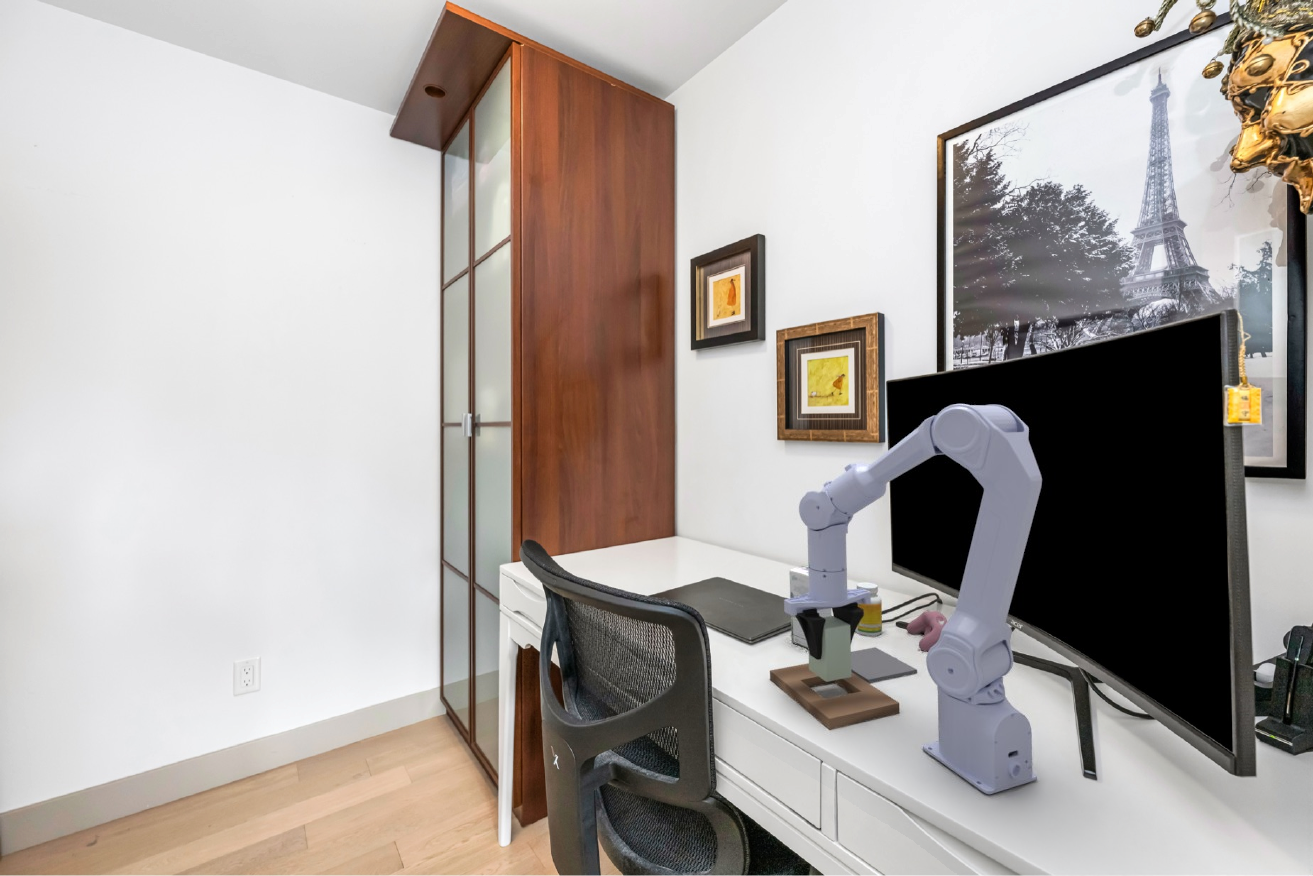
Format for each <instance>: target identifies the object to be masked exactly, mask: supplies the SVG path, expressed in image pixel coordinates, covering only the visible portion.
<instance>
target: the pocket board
mask: <svg viewBox="0 0 1313 876" xmlns="http://www.w3.org/2000/svg"><path fill="white" fill-rule="evenodd" d="M769 680H770V681H771V682H772V683H774V684H775V685H776V686H777V687H779V689H780V690H781V691H783V692H784V693H786V694H787V695H788V697H790V698H791V699H792V700H794V701H795V702H796V703H797V704H799V705H800V707H802V708H803V709H805V710H806V712H808V713H809V714H811V716H813V718H815V719H816V720H818V721H819V722H820V724H822V725H823V726H825V727H826V728H827V729H828V730H830V731H831V730H834V729H838V728H842V727H846V726H850V725H854V724H859V723H863V722H869V721H872V720H876V719H880V718H885V717H889V716H893V715H897V714H900V713H901V712H900V710H901V709H900V702H899V701H897V700H896V699H894V698H893V697H891V696H890V695H888V694H886V693H885V692H884V691H882V690H880V689H879V688H877V687H875V686H874V685H872V683H867V682H866V681H864V680H863V679H861V678H860V677H858V676H857V675H855V674H853V673H852V672H851V677H848V678H843V679H838V680H833V681H828V682H826V681H824V680H823V679H822V678H820V677H819V676H817V675H816V674H815V673H813V672H812V671H810V670H809V662H807V663H803V664H798V665H793V666H787V667H781V668H776V669H771V670H769ZM834 683H835V684H837V685H838V686H840V687H841V688H842V689H844V690H845V691H847V692H848V693H847V694H843V695H838V696H833V697H829V698H824V697H823V696H822V695H821V694H819V692H817V691H816V690H814V689H813V688H814V687H818V686H824V685H829V684H834Z"/></svg>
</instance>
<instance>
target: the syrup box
mask: <svg viewBox="0 0 1313 876" xmlns="http://www.w3.org/2000/svg"><path fill="white" fill-rule="evenodd" d="M788 571H789V597H790V598H794V597H797V596H800V595H803V594H806V593H809V571H808V564H807V565H800V566H797V567H795V568H791V569H789V570H788ZM790 598H789V599H790ZM817 613H819V616H821V617H826V616H833V612H832V608H828V609H822V610H817ZM790 627H791V629H790V630H791V631H790V632H791V635H790V636H791V642H792V643H793V644H795V645H798V646H801V647H803V648H805V649H808V645H807V641H806V638H805V635H804V632H803V630H802V628H801V625H800V623H799V622H798V620H797V618H796V616H795V615H794V616H791V615H790ZM808 650H809V649H808Z"/></svg>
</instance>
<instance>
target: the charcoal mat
mask: <svg viewBox="0 0 1313 876" xmlns="http://www.w3.org/2000/svg"><path fill="white" fill-rule="evenodd" d="M851 672H852V673H853V674H855V675H857V676H858V677H860V678H861V679H863V680H864V681H866V682H867V683H869V684H873V683H877V682H881V681H886V680H891V679H895V678H901V677H905V676H909V675H915V674H918V669H917V668H915V667H913V666H911V665H910V664H908V663H906V662H903V661H902V660H900V659H899V658H896V657H894V656H893V655H891V654H889V653H887V652H885V651H883V650H882V649H879V648H877V646H876V647H869V648H865V649H859V650H854V651H852V650H851Z"/></svg>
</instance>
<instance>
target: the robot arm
mask: <svg viewBox="0 0 1313 876" xmlns="http://www.w3.org/2000/svg"><path fill="white" fill-rule="evenodd" d="M1029 430H1030V429H1029V426H1028V425H1027V424H1026V423H1025V422H1024V421H1023V420H1021V418H1020V417H1019V416H1018V415H1017V414H1016V413H1015V412H1014V411H1012V410H1011V409H1010V408H1009V407H1006V406H1004V405H1001V404H985V405H983V404H982V405H976V404H974V405H972V404H971V405H970V404H967V403H966V404H965V403H956V404H950V405H948V406H946V407H944V408H942V409H941V411H939V412H938V413H937V414H936V415H932V416H930V417H928V418H926V419H924V421H922V422H921V424H920V425H918V427H916V428H915V429H914V430H913V431H912V432H911V433H909V434H908V435H907V436H905V437H904V438H902V439H901V440H900V441H899V442H897V444H895V445H893V447H891V448H890V449H888V450H887V451H886V452H885V453H884V454H882V455H881V456H880V457H878V458H877V459H876V460H875V461H873V462H872V463H871V464H870V463H866V462H857V463H849V464H847V465H846V466H845V467H844V468H843V469H844V471H845V472H843V473H842V474H840V475H839V476H838V477H836V478H835V479H834V480H828V481H826V482H825V483H823V488H822V489H821V490H820V491H818V490H810V491H807V492H806V493H805V495H803V496H802V498H801V499H800V501H799V504H798V513H799V516H800V519H801V521H802V522H803V524H804V525H805V526H806V527H807V561H808V562H807V563H808V564H807V565H808V571H809V593H806V594H803V595H800V596H797V597H794V598H788V599H787V598H786V599H783V604H784V605H783V607H784V608H783V609H784V613H786V614H787V615H789V616H790V617H791V616H794V615H795V616H796V618H797V620H798V622H799V623H800V625H801V628H802V630H803V632H804V635H805V638H806V641H807V645H808V654H809V653H810V655H811V656H812V657H814V658H815V659H817V660H819V659H821V656H822V635H823V629H824V625H825V621H826V619H824V618H823V617H821V616H819V613H817V610H822V609H828V608H831V612H832V616H834V617H836V618H838V619H840V620H842V621H843V622H845V623H847V624H849V625H850V638H851V644H852V642H853V639H854V637H855V636H854V635H855V633H856V632H855V630H856V628H857V626H858V624H859V622H860V620H861V619H862V618H863V616H864V610H863V609H862V608H860V607H858V604H861V603H863V604H871V592H870V591H867V590H865V589H857V588H856V589H848V568H847V566H848V565H847V564H848V562H847V534H848V532H849V531H848V529H849V524H850V523H851V521H852V520H853V518H854V515H855V514H857V513H858V512H860V511H861V510H863V509H865V508H866V507H868V506H869V505H871V504H873V503H874V502H876V501H877V500H880V498H882V497H884V495H886V491H887V484H888V483H889V482H891V481H894V480H895V479H896V478H898V477H899V476H901V475H903V474H904V473H906V472H908V471H910V470H912V469H913V468H915V467H917V466H919V465H920V464H922V463H924V462H925V461H927V460H929V459H931V458H932V457H934V456H937V455H945V456H947V457H948V458H950V459H951V460H953V461H954V462H956V463H958V464H960V466H962V467H963V468H964V469H967V470H968V471H969V472H970V474H972V476H973V477H974V478H975V480H977V482H978V483H979V484H980V485H981V487H982V488H983V494H982V498H981V500H980V501H981V502H980V507H979V511H978V513H977V514H978V515H977V518H976V522H975V523H976V524H975V527H974V531H973V536H972V540H971V544H970V548H969V552H968V556H967V561H966V564H965V569H964V573H963V576H962V581H961V584H960V588H959V589H960V590H959V593H958V598H957V601H956V606H955V610H954V611H953V613H952V614H951V616H950V617H949V619H947V623H946V624H945V626H944V627H943V629H942V630H941V635H940V638H939V640H938V642H937V643H936V644H935V645H934V646H932V647H931V648H930V650H929V651H927V653H926V658H925V659H926V660H925V663H926V664H925V665H926V669H927V672H928V675H929V676H930V678H931V680H932V681H933V682H934V684H935V685H936V686H937V689H936V690H937V716H938V717H937V719H938V722H937V724H938V725H937V726H938V740H936V741H932V742H928V743H924V744H922V750H923V751H925V753H927V754H929V755H931V756H932V757H933V758H935V759H936V760H937V761H939V762H940V763H942V764H943V765H945V766H946V767H947V768H949V769H950V770H951V771H953V772H954V773H956V774H957V775H959V777H961V778H962V779H964V780H966V781H967V782H969V783H970V784H971V785H972V786H974V787H975V788H977V789H978V790H979V791H981V792H982V793H984V794H987V795H992V794H995V793H996V794H997V793H999V792H1002V791H1005V790H1008V789H1011V788H1015V787H1018V786H1021V785H1023V784H1024V785H1025V784H1027V783H1031V782H1032V781H1033V782H1034V781H1036V780H1038V774H1037V773H1035V772H1034V771H1033V744H1032V743H1033V739H1032V734H1033V732H1032V727H1031V724H1030V721H1029V719H1028V718H1027V716H1026V715H1025V714H1023V713H1022V712H1021V711H1019V710H1018V709H1016V708H1015V707H1014V706H1013V705H1012V703H1011V702H1010V701H1009V699H1008V698H1007V696H1006V690H1005V688H1006V687H1005V685H1004V676H1007V675H1008V674H1009V673H1010V671H1012V669H1013V666H1014V653H1013V651H1012V648H1011V637H1012V633H1013V630H1012V628H1011V627H1010V626H1009V624H1008V623H1007V619H1008V614H1009V610H1010V606H1011V603H1012V600H1013V596H1014V592H1015V588H1016V584H1017V581H1018V576H1019V574H1020V569H1021V565H1022V561H1023V558H1024V555H1025V553H1024V552H1025V551H1026V550H1025V549H1026V546H1027V542H1028V538H1029V535H1030V532H1031V527H1032V523H1033V519H1034V516H1035V511H1036V507H1037V504H1038V501H1039V498H1040V497H1039V496H1040V493H1041V489H1042V484H1043V483H1042V482H1043V478H1042V474H1041V471H1040V469H1039V465H1038V463H1037V460H1036V457H1035V454H1034V452H1033V449H1032V446H1031V444H1030V440H1029V436H1030V435H1029V432H1030V431H1029Z"/></svg>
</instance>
